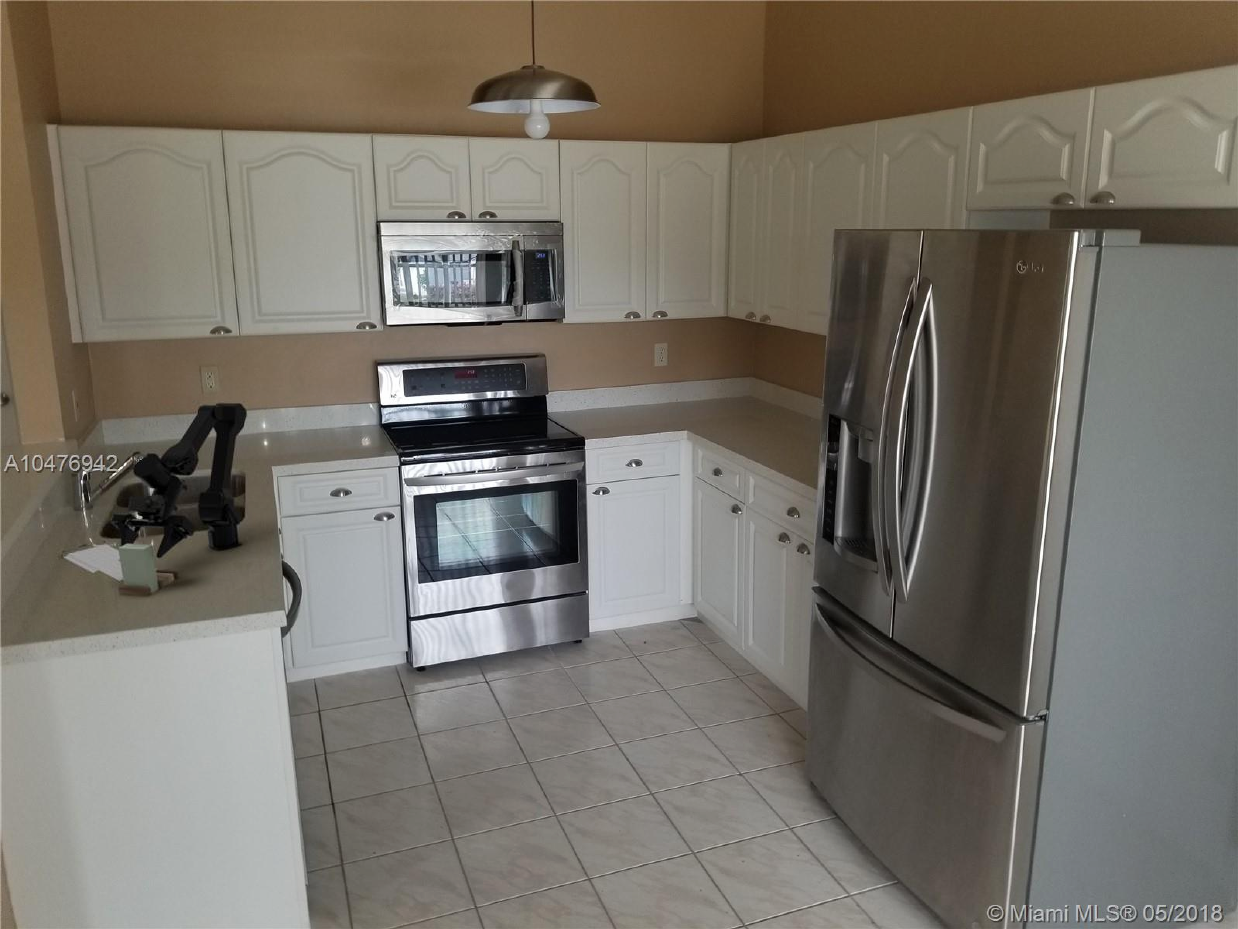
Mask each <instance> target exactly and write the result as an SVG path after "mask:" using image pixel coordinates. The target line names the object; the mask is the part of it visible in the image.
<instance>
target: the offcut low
mask: <svg viewBox="0 0 1238 929" xmlns="http://www.w3.org/2000/svg"><path fill="white" fill-rule="evenodd" d="M173 580H174V577H172V578H170V579H169V580H167V581H165V582H164V585H166V584H168V583H169V582H171V581H173Z"/></svg>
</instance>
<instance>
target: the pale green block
mask: <svg viewBox="0 0 1238 929" xmlns="http://www.w3.org/2000/svg"><path fill="white" fill-rule="evenodd" d="M117 550H119V556H120V559H119V561H120V562H121V569H122V575H123V580H122V581H123V586H137V587H151V593H153V592H154V591H156V590H158V589H159V588H158V581H157V575H156V569H157V568H156V562H155V555H154V549H153V545H152V544H143V543H142V544H140V543H139V544H138V543H134V544H125V545H123V546H121V545H120V547H118V548H117Z"/></svg>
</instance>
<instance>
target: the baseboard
mask: <svg viewBox="0 0 1238 929" xmlns="http://www.w3.org/2000/svg"><path fill="white" fill-rule="evenodd" d="M101 543H105V544H102V545H97V544H99V542H97V543H96V545H97V546H94V547H89V548H87V549H82V550H78V551H74V552H70V551H71V549H70V550H68V551H69V553H68V554H67V555H66V556H63V554H60V555H58V557H59V560H60V559H65V560H67V561H69V562H71V563H72V564H74V565H75V566H78V567H80V568H81V569H84V570H85V571H87V572H89V573H91V574H94V573H97V572H98V571H100V572H102V573H104V574H106V575H107V576H109V577H111V578H113V579H116V580H117V581H119V582H121V581H123V575H122V569H121V562H120V556H119V550H118V549H117V548H114V547H112V546H109V545H108V544H106V541H105V540H103V541H102V542H100V544H101ZM93 545H95V543H93V544H92V546H93ZM87 546H91V544H90V545H88V543H85V544H82V545H79V546H78V547H77V548H76V550H77V549H79V548H83V547H84V548H85V547H87ZM72 550H75V548H74V549H72ZM62 552H63V553H65V552H67V550H63V551H62Z"/></svg>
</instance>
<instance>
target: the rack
mask: <svg viewBox="0 0 1238 929" xmlns="http://www.w3.org/2000/svg"><path fill="white" fill-rule="evenodd" d="M156 573H172V574H173V576H174V580H173V581H171V582H169V583H168V584H166V585H164V582H163V580H157V581H158V588H159V589H158V590H156V591H154V592H153V593H151V587H137V586H124V585H120V586H118V588H117V590H118V594H119V595H121V596H137V597H151V596H152V595H154V594H156V593H157V592H159V591H160V590H162V589H163V588H165V587H168V586H169V585H170V584H172V583H174V582H176V581H177V580H179V579H181V575H180V570H177V569H176V570H175V569H173V570H172V569H159V568H156Z"/></svg>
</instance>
